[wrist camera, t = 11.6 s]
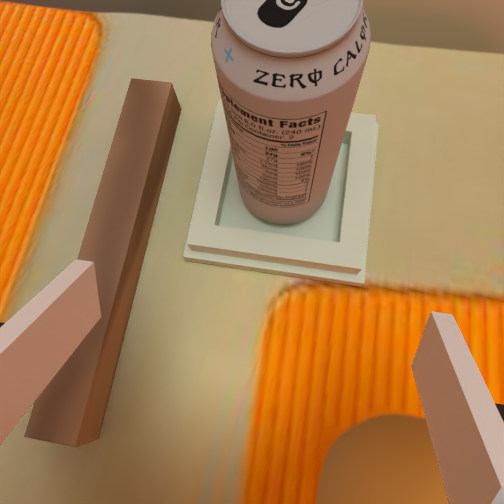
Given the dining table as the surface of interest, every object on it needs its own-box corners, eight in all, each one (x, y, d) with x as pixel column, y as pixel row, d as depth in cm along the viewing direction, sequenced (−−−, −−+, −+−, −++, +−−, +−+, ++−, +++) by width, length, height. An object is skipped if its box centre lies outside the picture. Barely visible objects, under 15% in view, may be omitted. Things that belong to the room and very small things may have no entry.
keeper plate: (185, 260, 28) (177, 250, 25) (218, 113, 31) (213, 91, 29) (361, 286, 27) (369, 278, 24) (375, 130, 30) (384, 109, 28)
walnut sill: (52, 429, 25) (24, 436, 22) (144, 105, 32) (131, 78, 29) (98, 438, 25) (75, 447, 22) (181, 109, 31) (171, 82, 29)
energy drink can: (344, 181, 28) (418, -22, 13) (291, 246, 27) (310, 100, 12) (275, 135, 29) (276, -94, 15) (222, 195, 28) (167, 11, 14)
